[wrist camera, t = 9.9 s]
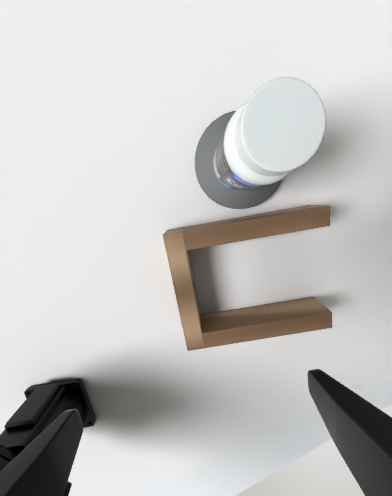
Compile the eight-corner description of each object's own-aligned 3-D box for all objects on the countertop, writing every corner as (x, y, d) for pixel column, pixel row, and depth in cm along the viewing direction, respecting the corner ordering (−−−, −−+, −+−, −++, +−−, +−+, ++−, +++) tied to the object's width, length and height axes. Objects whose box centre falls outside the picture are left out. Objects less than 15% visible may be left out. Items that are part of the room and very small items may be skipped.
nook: (312, 310, 21) (332, 327, 18) (188, 330, 21) (187, 350, 19) (308, 205, 19) (329, 205, 16) (167, 230, 19) (162, 235, 16)
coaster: (286, 200, 18) (289, 200, 18) (202, 215, 19) (203, 215, 18) (280, 105, 17) (283, 101, 16) (187, 122, 17) (187, 119, 16)
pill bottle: (217, 194, 18) (237, 188, 10) (209, 137, 17) (225, 75, 8) (269, 186, 18) (335, 172, 9) (265, 128, 17) (336, 55, 8)
